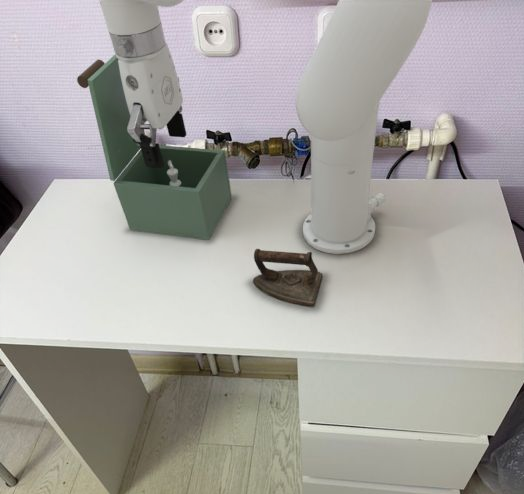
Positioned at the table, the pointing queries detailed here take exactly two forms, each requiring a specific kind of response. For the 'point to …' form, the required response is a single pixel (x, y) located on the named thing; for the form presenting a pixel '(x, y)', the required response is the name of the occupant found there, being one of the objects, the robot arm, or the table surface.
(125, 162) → the bin lid
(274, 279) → the clothes iron
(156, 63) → the robot arm
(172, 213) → the bin
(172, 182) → the chess piece
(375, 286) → the table surface
